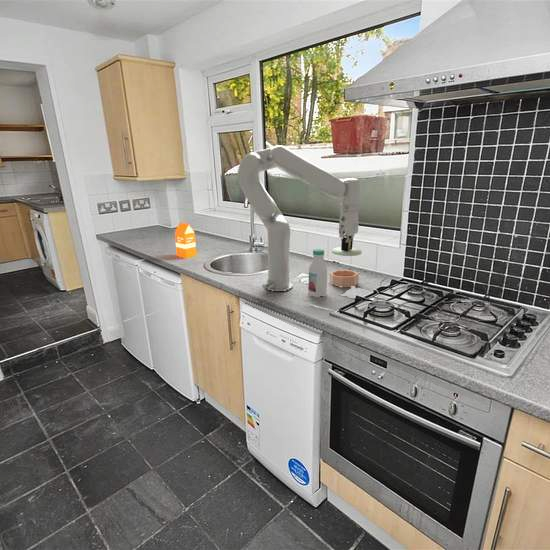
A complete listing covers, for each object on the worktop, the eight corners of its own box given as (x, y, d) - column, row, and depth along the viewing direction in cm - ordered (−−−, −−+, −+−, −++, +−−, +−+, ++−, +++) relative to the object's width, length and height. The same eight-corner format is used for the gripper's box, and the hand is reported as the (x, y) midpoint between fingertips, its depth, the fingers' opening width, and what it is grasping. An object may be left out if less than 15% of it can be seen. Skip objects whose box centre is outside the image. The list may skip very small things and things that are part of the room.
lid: (353, 257, 152) (354, 243, 150) (326, 252, 160) (327, 238, 158) (366, 251, 162) (367, 237, 160) (340, 247, 170) (341, 234, 168)
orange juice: (186, 258, 211) (183, 224, 205) (176, 256, 216) (173, 223, 210) (196, 256, 217) (194, 223, 211) (187, 253, 222) (184, 221, 216)
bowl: (350, 289, 159) (350, 278, 157) (326, 285, 166) (326, 274, 164) (361, 282, 168) (361, 272, 166) (338, 278, 175) (338, 268, 174)
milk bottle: (324, 291, 158) (326, 247, 152) (327, 298, 151) (329, 252, 145) (307, 292, 158) (308, 247, 152) (309, 298, 151) (310, 252, 144)
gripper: (348, 211, 147) (345, 255, 153) (365, 207, 159) (362, 247, 165) (332, 209, 151) (329, 252, 157) (350, 205, 163) (347, 245, 169)
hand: (346, 249), depth 161 cm, fingers closed on lid, 3 cm apart
